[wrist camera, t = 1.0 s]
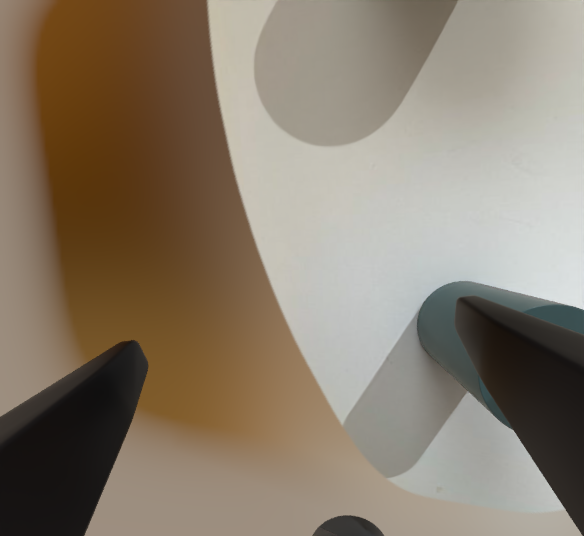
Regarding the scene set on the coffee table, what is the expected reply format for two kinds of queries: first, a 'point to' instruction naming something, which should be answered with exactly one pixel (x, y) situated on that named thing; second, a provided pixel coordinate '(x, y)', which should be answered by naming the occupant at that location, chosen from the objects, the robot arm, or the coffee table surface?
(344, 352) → the coffee table surface
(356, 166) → the coffee table surface
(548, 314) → the bottle
